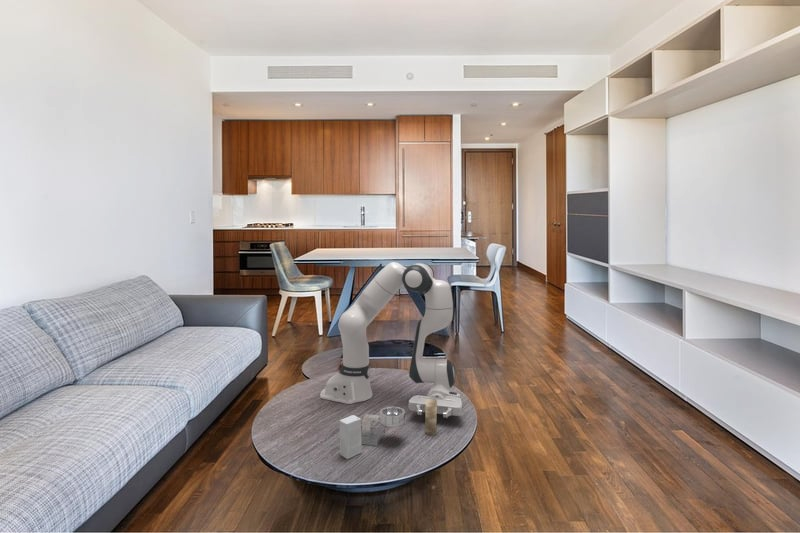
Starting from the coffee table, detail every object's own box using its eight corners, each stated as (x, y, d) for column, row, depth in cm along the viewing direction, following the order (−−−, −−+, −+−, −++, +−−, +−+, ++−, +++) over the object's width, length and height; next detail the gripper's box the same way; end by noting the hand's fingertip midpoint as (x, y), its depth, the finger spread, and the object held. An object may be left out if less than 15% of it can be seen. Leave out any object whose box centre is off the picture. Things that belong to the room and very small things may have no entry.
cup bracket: (349, 442, 159) (349, 413, 158) (358, 429, 169) (358, 401, 168) (401, 449, 155) (401, 419, 154) (408, 435, 165) (408, 407, 163)
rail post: (424, 434, 165) (424, 402, 164) (426, 429, 169) (426, 398, 168) (435, 436, 164) (435, 403, 163) (437, 431, 168) (437, 399, 167)
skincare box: (353, 448, 156) (353, 414, 154) (361, 453, 153) (361, 418, 151) (339, 454, 151) (338, 419, 150) (347, 459, 148) (347, 424, 147)
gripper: (412, 389, 184) (404, 403, 170) (464, 394, 179) (460, 409, 165) (412, 404, 184) (404, 419, 171) (463, 409, 180) (459, 425, 166)
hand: (432, 414), depth 168 cm, fingers open, 8 cm apart
